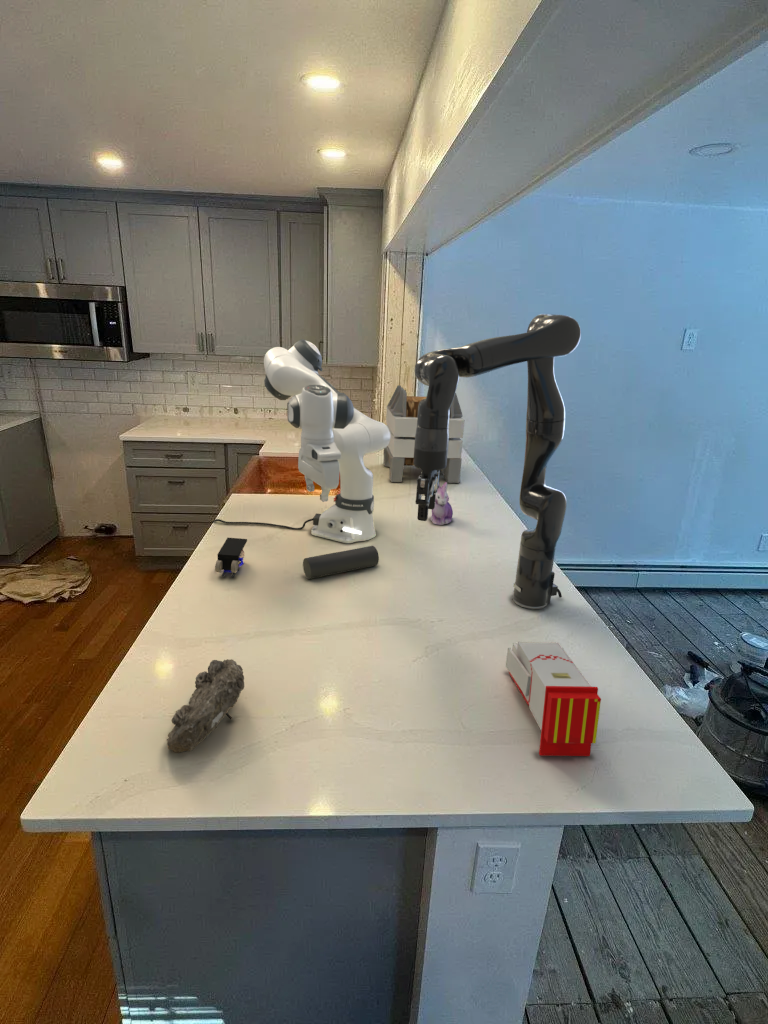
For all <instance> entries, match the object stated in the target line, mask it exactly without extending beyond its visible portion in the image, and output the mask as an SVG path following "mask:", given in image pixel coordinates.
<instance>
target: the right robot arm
mask: <svg viewBox="0 0 768 1024" xmlns="http://www.w3.org/2000/svg"><path fill="white" fill-rule="evenodd" d="M581 330H582V329H581V326H580V324H579V322H578V321H577V320H576V319H575V318H573V317H572V316H570V315H566V314H556V313H555V314H553V313H540V314H537V315H535V316H534V317H533V318H532V319H531V321H530V322H529V324H528V327H527V330H526V332H523V333H518V334H511V335H510V334H509V335H502V336H495V337H489V338H484V339H480V340H478V341H473V342H471V343H468V344H465V345H462V346H458V347H450V348H445V349H438V350H432V351H430V352H427V353H425V354H422V355H421V356H420V357H419V358H418V359H417V360H416V362H415V365H414V376H415V378H416V379H417V380H418V382H419V383H420V384H422V385H424V386H426V387H428V389H427V393H426V396H425V397H426V398H425V399H422V400H421V401H420V402H419V405H418V415H417V428H416V433H415V444H414V460H413V464H414V466H413V467H415V468H417V469H420V470H421V474H420V475H418V477H417V479H416V492H415V493H416V495H415V502H414V503H415V505H417V516H416V517H417V520H418V521H420V522H426V521H427V520H428V517H429V510H431V511H432V510H433V509H434V508H435V499H436V493H437V489H438V488H439V485H440V474H441V472H440V470H442V469H444V468H446V466H447V454H448V442H449V431H448V429H449V415H450V407H451V404H452V401H453V398H454V395H455V393H457V392H456V391H457V388H458V386H459V379H460V378H474V377H478V376H481V375H484V374H487V373H490V372H492V371H493V372H494V371H496V370H500V369H503V368H506V367H510V366H513V365H517V364H521V363H525V362H526V365H527V395H526V396H527V397H526V398H527V402H526V403H527V404H526V405H527V406H526V418H525V445H524V460H523V461H524V462H523V469H522V477H521V484H520V491H519V508H520V511H521V512H522V514H524V515H525V516H527V517H529V518H531V519H534V520H536V525H535V528H534V527H533V528H528V529H525V530H522V532H521V536H520V543H519V550H518V556H517V557H518V558H517V564H516V572H515V579H514V583H513V586H512V587H513V593H512V601H513V603H515V604H516V605H517V606H519V607H521V608H524V609H529V610H541V609H544V608H546V607H547V606H548V605H550V604H551V599H552V597H554V596H558V598H560V599H561V598H562V597H563V595H562V592H561V590H560V589H559V586H558V585H556V584H555V582H554V581H555V576H556V575H555V572H554V571H553V568H554V561H555V554H556V549H557V543H558V541H559V539H560V537H561V534H562V531H563V525H564V521H565V516H566V511H567V497H566V495H565V493H564V492H563V491H561V490H559V489H557V488H554V487H551V486H549V485H546V473H547V466H548V464H549V462H550V460H551V458H552V457H553V455H554V454H555V453H556V451H557V450H558V448H559V447H560V445H561V443H562V441H563V439H564V436H565V426H566V407H565V404H564V400H563V397H562V394H561V392H560V389H559V386H558V384H557V381H556V377H555V358H559V357H560V358H561V357H566V356H568V355H569V354H571V353H573V352H574V350H576V349H577V347H578V346H579V343H580V341H581V337H582V331H581ZM422 497H424V499H422Z"/></svg>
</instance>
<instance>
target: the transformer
mask: <svg viewBox="0 0 768 1024" xmlns="http://www.w3.org/2000/svg"><path fill="white" fill-rule="evenodd" d="M407 394H408V393H407V390H406V389H404V388H403V387H402V385H399V384H398V385H397V386H396V388H395V390H394V392H393V394H392V395H391V398H390V400H389V402H388V404H387V405H386V413H385V414H386V415H385V423H386V426H387V427H388V429H389V432H390V442H389V444H388V446H387V447H386V448H384V449H383V466H384V467H388V468H389V475H388V476H389V477H388V478H389V480H390V482H391V483H402V482H403V475H404V469H405V466H406V467H407V466H411V467H412V466H413V467H415V466H414V464H413V460H414V444H415V433H416V428H417V415H418V405H419V402H420V401H421V400H422V399H425V398H426V397H427V396H415V395H414V396H413V395H412V396H411V395H407ZM464 429H465V419H464V418H463V411H462V408H461V405H460V402H459V398H458V395H457V392H455V395H454V398H453V401H452V404H451V407H450V415H449V429H448V431H449V442H448V454H447V466H446V468H444V469H442V470H440V474H441V475H443V478H444V479H445V482H447V484H448V483H449V484H455V483H456V484H459V483H461V472H462V461H463V460H462V453H463V442H464V441H463V440H462V439H463V438H464V431H465V430H464Z"/></svg>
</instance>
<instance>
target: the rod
mask: <svg viewBox="0 0 768 1024" xmlns="http://www.w3.org/2000/svg"><path fill="white" fill-rule="evenodd" d="M379 555H380V554H379V552H378V549H377V547H375V546H374V545H369V546H363V547H357V548H352V549H347V550H342V551H337V552H330V553H325V554H320V555H314V556H309V557H304V558H303V560H302V569H303V573H304V576H305V578H306V579H307V580H311V579H315V578H320V577H325V576H330V575H331V576H332V575H334V574H335V575H336V574H340V573H345V572H351V571H355V570H361V569H366V568H370V567H376V566H377V565H379V562H380V557H379Z"/></svg>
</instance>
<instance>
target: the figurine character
mask: <svg viewBox="0 0 768 1024" xmlns="http://www.w3.org/2000/svg"><path fill="white" fill-rule="evenodd" d="M247 542H248V538H240V537H226V539H225V541H224V543H223V544H222V546H221V547H220V549H219V551H218V552H217V560H216V562H215V564H214V572H215V573H221V577H222V578H224V577H225V576H226V574H227V573H230V574H231V573H232V574H231V578H234V577H235V575H236V573H237V572H239V571H240V567H242V566H243V565H244V564H245V562H244V558H245V551H244V547H245V546H246V544H247Z"/></svg>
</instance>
